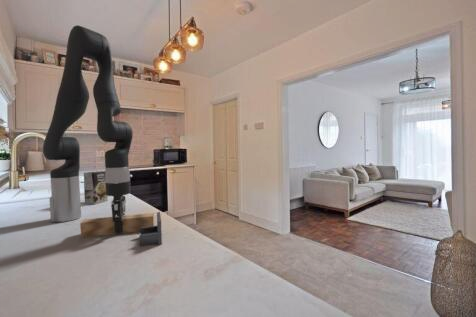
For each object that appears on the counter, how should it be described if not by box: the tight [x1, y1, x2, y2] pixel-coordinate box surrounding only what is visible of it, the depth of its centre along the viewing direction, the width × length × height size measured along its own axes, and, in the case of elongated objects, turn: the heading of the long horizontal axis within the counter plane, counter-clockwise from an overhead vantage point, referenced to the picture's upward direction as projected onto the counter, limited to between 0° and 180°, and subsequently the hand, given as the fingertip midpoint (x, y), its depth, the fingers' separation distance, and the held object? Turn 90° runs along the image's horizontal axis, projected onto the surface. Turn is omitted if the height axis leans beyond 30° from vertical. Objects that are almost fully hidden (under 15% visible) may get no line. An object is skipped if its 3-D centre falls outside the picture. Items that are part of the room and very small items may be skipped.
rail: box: [79, 212, 155, 238], centre depth 79 cm, size 22×4×5 cm, turn 106°
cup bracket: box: [139, 211, 163, 247], centre depth 72 cm, size 6×10×7 cm, turn 20°
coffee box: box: [83, 170, 109, 205], centre depth 122 cm, size 9×6×16 cm
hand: (119, 229), depth 79 cm, fingers open, 5 cm apart
